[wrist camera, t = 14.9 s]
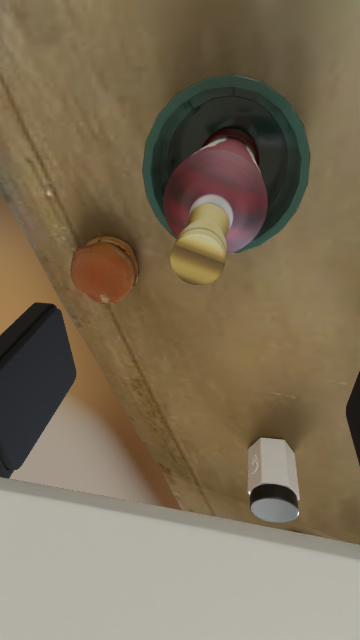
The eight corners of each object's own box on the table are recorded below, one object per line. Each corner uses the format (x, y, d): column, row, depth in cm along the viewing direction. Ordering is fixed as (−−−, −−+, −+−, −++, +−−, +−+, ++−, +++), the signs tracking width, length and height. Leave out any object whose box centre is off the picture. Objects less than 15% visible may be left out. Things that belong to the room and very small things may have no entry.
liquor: (210, 114, 37) (144, 154, 14) (272, 139, 37) (306, 217, 14) (189, 181, 41) (111, 294, 18) (244, 203, 41) (237, 341, 19)
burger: (119, 224, 47) (107, 236, 43) (152, 280, 51) (143, 295, 47) (65, 250, 50) (50, 263, 47) (100, 300, 54) (88, 316, 51)
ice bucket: (206, 45, 34) (193, 31, 27) (328, 132, 37) (349, 144, 29) (142, 183, 43) (118, 204, 35) (244, 247, 45) (242, 279, 38)
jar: (266, 430, 65) (268, 490, 55) (302, 447, 66) (310, 510, 56) (241, 452, 70) (239, 511, 60) (274, 468, 71) (278, 528, 61)
